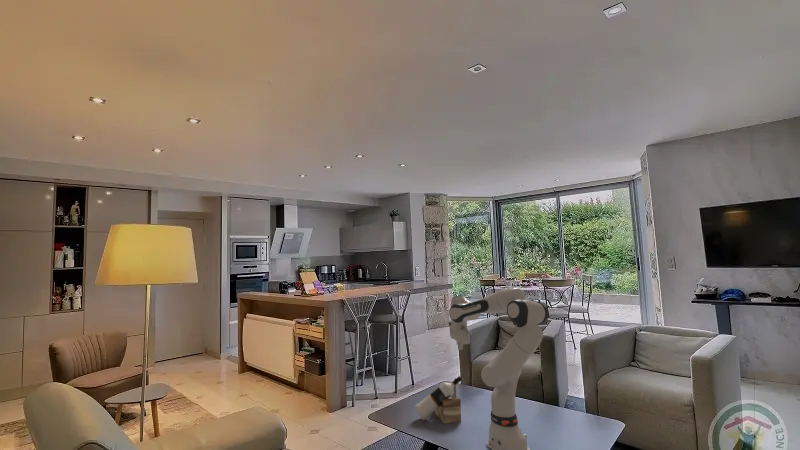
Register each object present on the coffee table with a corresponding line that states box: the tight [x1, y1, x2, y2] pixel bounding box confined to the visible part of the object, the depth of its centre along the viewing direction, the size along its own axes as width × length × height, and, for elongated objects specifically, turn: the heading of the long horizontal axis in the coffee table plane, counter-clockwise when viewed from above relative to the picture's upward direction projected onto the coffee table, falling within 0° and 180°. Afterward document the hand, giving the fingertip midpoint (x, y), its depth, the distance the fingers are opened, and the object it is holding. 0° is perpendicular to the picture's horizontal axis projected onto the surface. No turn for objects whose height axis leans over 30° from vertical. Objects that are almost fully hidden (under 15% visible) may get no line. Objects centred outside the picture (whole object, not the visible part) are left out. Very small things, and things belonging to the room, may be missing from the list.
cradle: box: [432, 389, 462, 424], centre depth 215 cm, size 17×10×12 cm, turn 14°
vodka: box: [414, 375, 463, 421], centre depth 212 cm, size 9×9×30 cm
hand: (460, 349), depth 216 cm, fingers closed
